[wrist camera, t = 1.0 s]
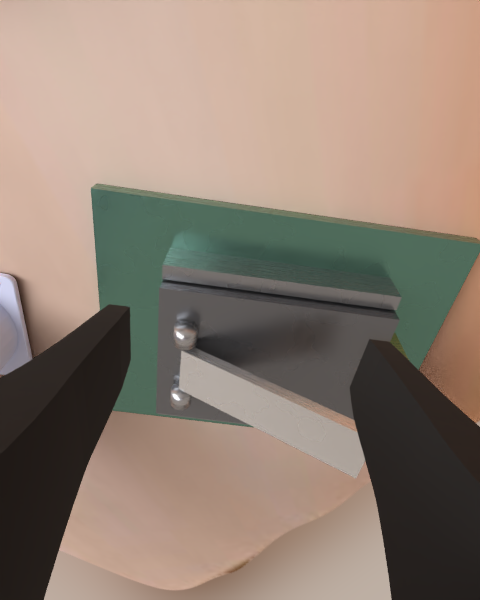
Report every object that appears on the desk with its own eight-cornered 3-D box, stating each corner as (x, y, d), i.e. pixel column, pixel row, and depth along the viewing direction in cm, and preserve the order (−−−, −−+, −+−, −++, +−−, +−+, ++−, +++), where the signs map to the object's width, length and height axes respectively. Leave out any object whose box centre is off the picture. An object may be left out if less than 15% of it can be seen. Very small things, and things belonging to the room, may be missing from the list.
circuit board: (110, 401, 28) (84, 463, 24) (96, 183, 20) (51, 220, 15) (377, 433, 29) (398, 499, 25) (476, 238, 20) (534, 287, 16)
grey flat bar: (184, 382, 22) (178, 389, 21) (187, 344, 20) (181, 350, 20) (358, 468, 19) (356, 478, 18) (377, 431, 17) (375, 440, 17)
